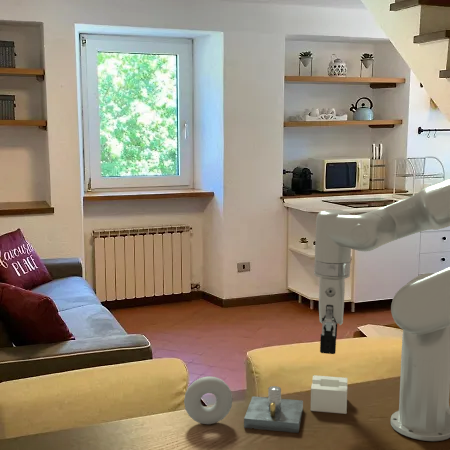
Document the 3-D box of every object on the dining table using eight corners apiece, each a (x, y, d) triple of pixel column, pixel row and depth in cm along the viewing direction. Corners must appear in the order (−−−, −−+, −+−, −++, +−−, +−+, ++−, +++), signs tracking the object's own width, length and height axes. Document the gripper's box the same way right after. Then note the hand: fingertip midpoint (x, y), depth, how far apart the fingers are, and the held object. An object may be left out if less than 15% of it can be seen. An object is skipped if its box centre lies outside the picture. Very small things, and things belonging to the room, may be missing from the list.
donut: (231, 418, 132) (231, 372, 130) (233, 425, 128) (233, 378, 127) (183, 421, 130) (183, 375, 129) (184, 428, 127) (184, 381, 126)
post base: (302, 409, 136) (303, 380, 135) (298, 432, 125) (299, 401, 124) (252, 405, 138) (252, 376, 137) (244, 427, 127) (244, 397, 127)
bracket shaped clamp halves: (346, 399, 141) (347, 377, 141) (346, 413, 134) (347, 391, 133) (312, 396, 143) (313, 375, 142) (310, 410, 135) (311, 388, 135)
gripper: (349, 278, 125) (345, 361, 128) (350, 261, 142) (346, 334, 144) (311, 276, 126) (308, 357, 129) (316, 259, 143) (313, 331, 146)
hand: (328, 345), depth 137 cm, fingers open, 9 cm apart
